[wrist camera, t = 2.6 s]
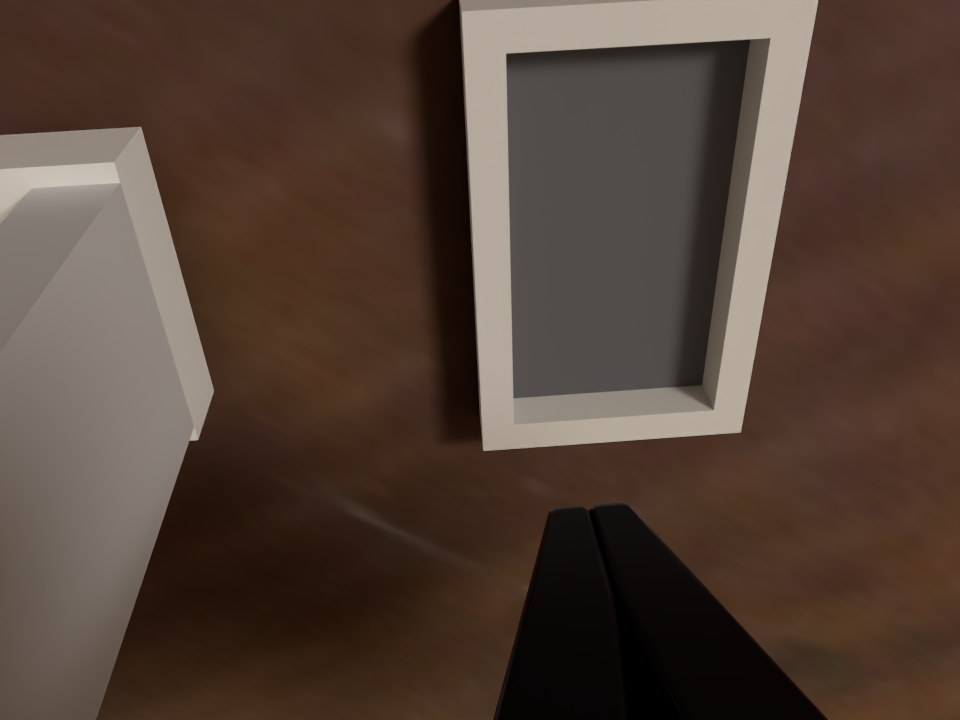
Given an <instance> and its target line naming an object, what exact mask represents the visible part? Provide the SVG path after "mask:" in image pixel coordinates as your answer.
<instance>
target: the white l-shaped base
mask: <svg viewBox="0 0 960 720" xmlns="http://www.w3.org/2000/svg"><path fill="white" fill-rule="evenodd" d="M213 392H214V389H213V386H212V382H211V378H210V375H209V371H208V367H207V364H206V360H205V357H204V353H203V349H202V346H201V342H200V338H199V335H198V331H197V328H196V324H195V320H194V317H193V313H192V310H191V306H190V302H189V299H188V295H187V291H186V288H185V284H184V281H183V277H182V273H181V270H180V266H179V262H178V259H177V255H176V252H175V248H174V244H173V241H172V237H171V234H170V230H169V226H168V223H167V219H166V215H165V212H164V208H163V205H162V201H161V197H160V194H159V190H158V186H157V183H156V179H155V176H154V172H153V168H152V165H151V161H150V157H149V154H148V150H147V147H146V143H145V139H144V136H143V132H142V129H141V127H130V128H113V129H96V130H80V131H63V132H46V133H30V134H13V135H0V720H96V719H97V716H98V713H99V710H100V707H101V704H102V701H103V698H104V695H105V692H106V689H107V686H108V683H109V680H110V677H111V674H112V671H113V668H114V665H115V662H116V659H117V656H118V653H119V650H120V647H121V644H122V641H123V638H124V635H125V632H126V629H127V626H128V623H129V620H130V617H131V614H132V611H133V608H134V605H135V602H136V599H137V596H138V593H139V590H140V587H141V584H142V581H143V578H144V575H145V572H146V569H147V566H148V563H149V560H150V557H151V554H152V551H153V548H154V545H155V542H156V539H157V536H158V533H159V530H160V527H161V524H162V521H163V518H164V515H165V512H166V509H167V506H168V503H169V500H170V497H171V494H172V491H173V488H174V485H175V482H176V479H177V476H178V473H179V470H180V467H181V464H182V461H183V458H184V455H185V452H186V449H187V446H188V443H189V441H192V440H198V439H199V436H200V433H201V430H202V427H203V423H204V420H205V417H206V414H207V411H208V408H209V405H210V402H211V399H212V395H213Z"/></svg>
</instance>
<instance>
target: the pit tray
mask: <svg viewBox="0 0 960 720" xmlns="http://www.w3.org/2000/svg"><path fill="white" fill-rule="evenodd" d="M817 5H818V0H459V15H460V34H461V54H462V74H463V94H464V113H465V133H466V153H467V173H468V192H469V212H470V232H471V252H472V272H473V291H474V311H475V331H476V351H477V370H478V390H479V410H480V424H481V434H482V444H483V451H490V450H504V449H518V448H532V447H546V446H559V445H573V444H587V443H601V442H615V441H629V440H642V439H656V438H670V437H684V436H698V435H712V434H726V433H739V432H741V428H742V423H743V417H744V412H745V406H746V401H747V395H748V389H749V384H750V378H751V373H752V367H753V362H754V356H755V350H756V345H757V339H758V334H759V328H760V323H761V317H762V311H763V306H764V300H765V295H766V289H767V284H768V278H769V272H770V267H771V261H772V256H773V250H774V245H775V239H776V233H777V228H778V222H779V217H780V211H781V206H782V200H783V194H784V189H785V183H786V178H787V172H788V166H789V161H790V155H791V150H792V144H793V139H794V133H795V127H796V122H797V116H798V111H799V105H800V100H801V94H802V88H803V83H804V77H805V72H806V66H807V61H808V55H809V49H810V44H811V38H812V33H813V27H814V22H815V16H816V10H817Z"/></svg>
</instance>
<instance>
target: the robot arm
mask: <svg viewBox="0 0 960 720" xmlns="http://www.w3.org/2000/svg"><path fill="white" fill-rule="evenodd" d="M493 720H828V719H827V718H826V717H825V716H824V715H823V714H822V712H821V711H820V710H819V709H818V708H817V707H816V706H815V705H814V704H813V703H812V702H811V701H810V700H809V698H808V697H807V696H806V695H805V694H804V693H803V692H802V691H801V690H800V689H799V688H798V687H797V685H796V684H795V683H794V682H793V681H792V680H791V679H790V678H789V677H788V676H787V675H786V674H785V672H784V671H783V670H782V669H781V668H780V667H779V666H778V665H777V664H776V663H775V662H774V661H773V660H772V658H771V657H770V656H769V655H768V654H767V653H766V652H765V651H764V650H763V649H762V648H761V647H760V645H759V644H758V643H757V642H756V641H755V640H754V639H753V638H752V637H751V636H750V635H749V634H748V633H747V631H746V630H745V629H744V628H743V627H742V626H741V625H740V624H739V623H738V622H737V621H736V620H735V618H734V617H733V616H732V615H731V614H730V613H729V612H728V611H727V610H726V609H725V608H724V607H723V605H722V604H721V603H720V602H719V601H718V600H717V599H716V598H715V597H714V596H713V595H712V594H711V593H710V591H709V590H708V589H707V588H706V587H705V586H704V585H703V584H702V583H701V582H700V581H699V580H698V578H697V577H696V576H695V575H694V574H693V573H692V572H691V571H690V570H689V569H688V568H687V567H686V566H685V564H684V563H683V562H682V561H681V560H680V559H679V558H678V557H677V556H676V555H675V554H674V553H673V551H672V550H671V549H670V548H669V547H668V546H667V545H666V544H665V543H664V542H663V541H662V540H661V538H660V537H659V536H658V535H657V534H656V533H655V532H654V531H653V530H652V529H651V528H650V527H649V526H648V524H647V523H646V522H645V521H644V520H643V519H642V518H641V517H640V516H639V515H638V514H637V513H636V511H635V510H634V509H633V508H632V507H631V506H629V505H628V504H625V503H615V504H601V505H594V506H592V507H591V508H590V509H589V510H588V509H587V508H586V507H584V506H573V507H560V508H553V509H551V510H550V512H549V514H548V517H547V521H546V524H545V528H544V532H543V536H542V539H541V543H540V547H539V551H538V554H537V558H536V562H535V566H534V569H533V573H532V577H531V581H530V584H529V588H528V592H527V596H526V599H525V603H524V607H523V611H522V614H521V618H520V622H519V625H518V629H517V633H516V637H515V640H514V644H513V648H512V652H511V655H510V659H509V663H508V667H507V670H506V674H505V678H504V682H503V685H502V689H501V693H500V697H499V700H498V704H497V708H496V712H495V715H494V719H493Z"/></svg>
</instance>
